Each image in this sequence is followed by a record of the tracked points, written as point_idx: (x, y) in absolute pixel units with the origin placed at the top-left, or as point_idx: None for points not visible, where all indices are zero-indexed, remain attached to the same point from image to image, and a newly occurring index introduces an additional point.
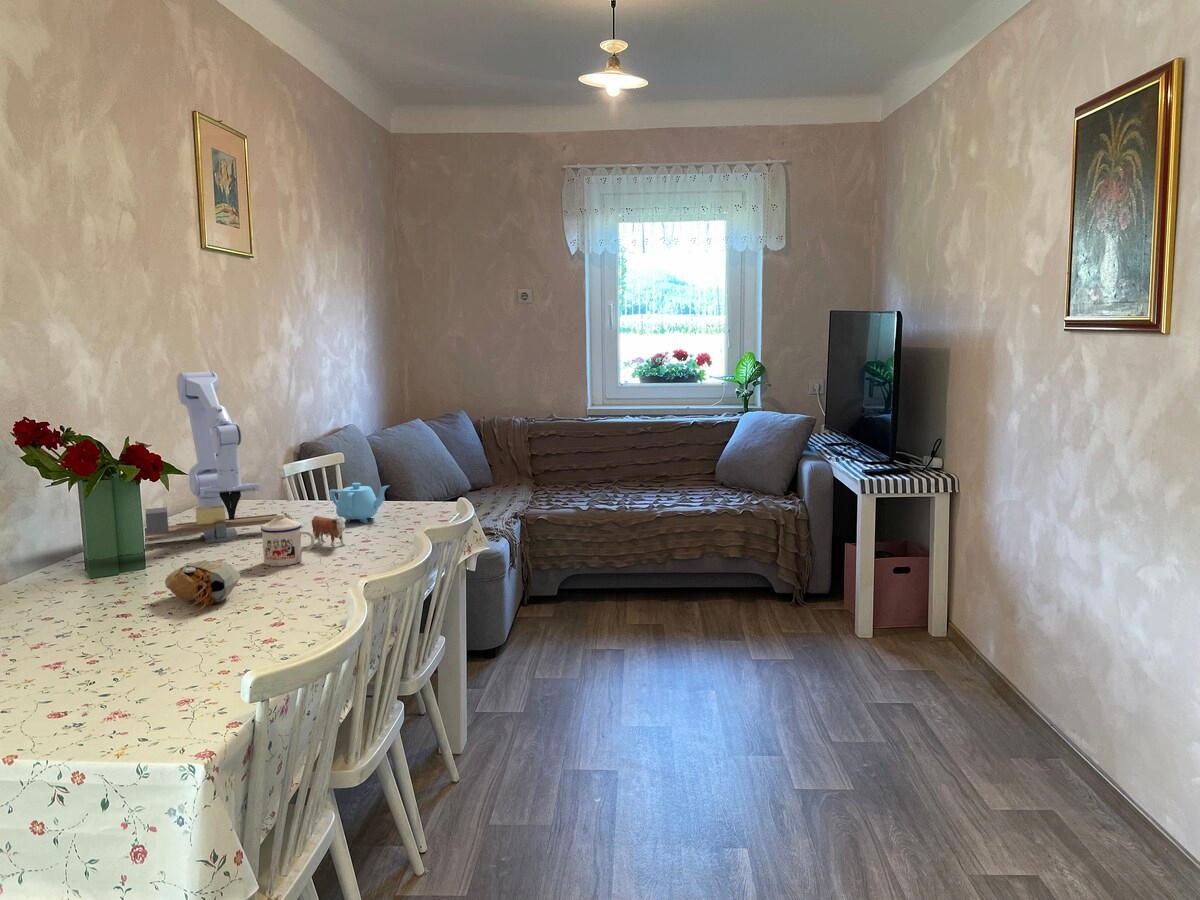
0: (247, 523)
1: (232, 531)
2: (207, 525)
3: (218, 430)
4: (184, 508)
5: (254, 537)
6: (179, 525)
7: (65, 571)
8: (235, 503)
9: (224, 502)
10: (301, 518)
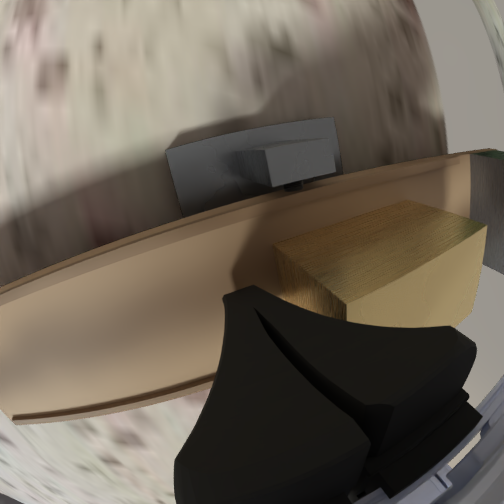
0: (111, 245)
1: None
2: (370, 212)
3: None
4: None
5: (91, 213)
6: None
7: (487, 21)
8: (239, 378)
9: (384, 330)
10: (71, 465)
